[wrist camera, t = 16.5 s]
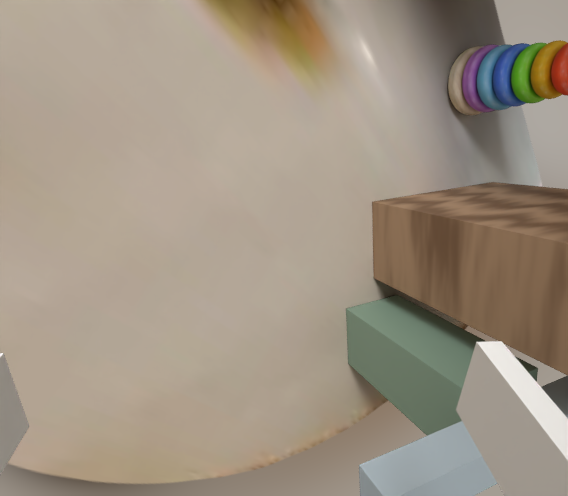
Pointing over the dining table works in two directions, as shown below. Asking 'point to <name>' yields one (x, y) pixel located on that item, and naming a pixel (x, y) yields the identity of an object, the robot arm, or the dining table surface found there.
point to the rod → (439, 462)
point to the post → (413, 359)
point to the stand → (483, 260)
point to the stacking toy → (508, 76)
